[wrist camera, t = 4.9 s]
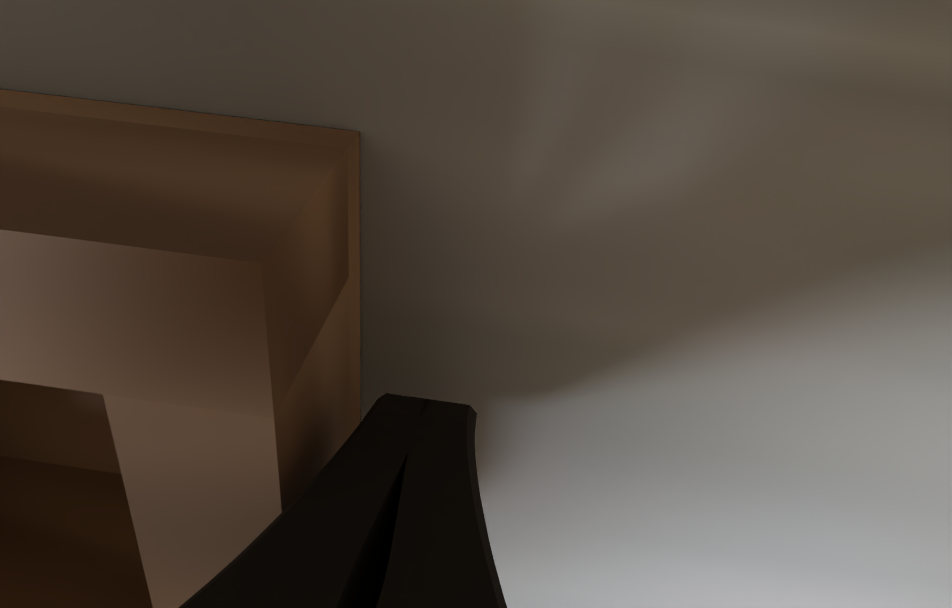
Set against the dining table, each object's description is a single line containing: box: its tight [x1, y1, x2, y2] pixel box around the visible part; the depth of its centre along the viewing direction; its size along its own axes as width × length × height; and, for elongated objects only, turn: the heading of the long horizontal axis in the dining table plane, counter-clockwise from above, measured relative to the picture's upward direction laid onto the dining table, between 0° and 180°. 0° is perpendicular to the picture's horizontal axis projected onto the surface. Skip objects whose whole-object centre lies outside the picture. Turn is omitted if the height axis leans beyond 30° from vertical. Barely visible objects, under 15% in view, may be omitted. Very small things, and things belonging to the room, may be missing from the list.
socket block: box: [0, 89, 361, 608], centre depth 11 cm, size 8×8×4 cm
